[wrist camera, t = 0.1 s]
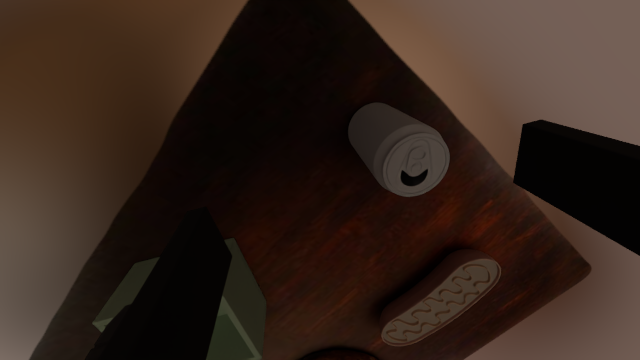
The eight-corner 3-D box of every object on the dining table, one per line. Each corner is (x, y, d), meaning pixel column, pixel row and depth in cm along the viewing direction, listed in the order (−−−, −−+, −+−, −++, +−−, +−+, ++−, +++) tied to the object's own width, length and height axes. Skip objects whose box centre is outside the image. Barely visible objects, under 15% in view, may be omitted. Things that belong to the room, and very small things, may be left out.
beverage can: (345, 153, 32) (375, 203, 22) (347, 101, 29) (383, 130, 19) (393, 151, 33) (445, 199, 22) (400, 100, 30) (463, 127, 19)
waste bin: (134, 263, 36) (91, 323, 28) (234, 237, 36) (219, 290, 28) (183, 323, 43) (159, 385, 35) (266, 301, 43) (262, 359, 35)
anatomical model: (459, 228, 40) (481, 249, 36) (491, 253, 44) (514, 276, 40) (362, 310, 47) (370, 337, 42) (397, 326, 51) (407, 352, 46)
